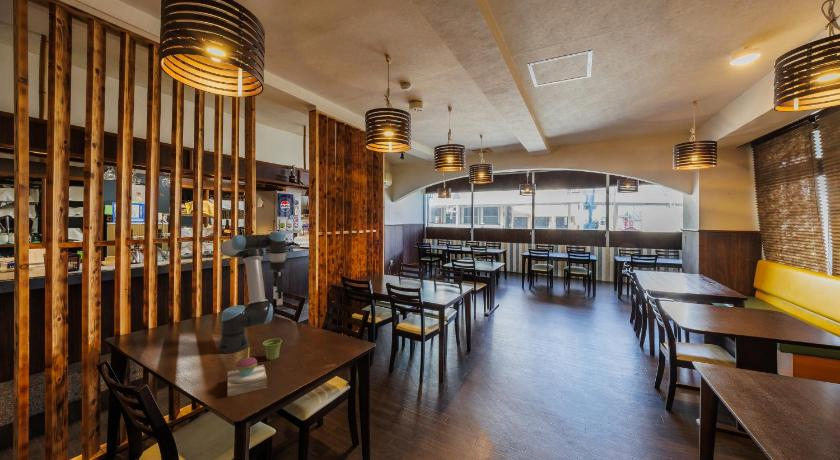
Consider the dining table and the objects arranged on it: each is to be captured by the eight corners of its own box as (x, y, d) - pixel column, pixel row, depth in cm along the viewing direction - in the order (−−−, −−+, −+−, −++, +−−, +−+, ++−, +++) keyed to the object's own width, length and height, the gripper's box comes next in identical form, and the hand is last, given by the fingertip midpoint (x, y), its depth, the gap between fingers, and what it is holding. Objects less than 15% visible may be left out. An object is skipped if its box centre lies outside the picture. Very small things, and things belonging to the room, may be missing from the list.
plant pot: (263, 362, 165) (262, 346, 164) (262, 355, 173) (262, 340, 173) (282, 359, 169) (282, 343, 169) (281, 352, 177) (281, 337, 177)
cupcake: (241, 369, 147) (241, 344, 146) (260, 369, 148) (260, 343, 147) (232, 379, 138) (232, 352, 138) (252, 378, 139) (252, 351, 139)
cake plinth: (227, 380, 146) (227, 370, 146) (263, 373, 154) (263, 363, 154) (227, 396, 134) (227, 385, 133) (266, 387, 141) (266, 376, 141)
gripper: (289, 263, 156) (289, 306, 157) (282, 257, 177) (282, 295, 178) (272, 264, 152) (272, 308, 153) (267, 258, 174) (267, 296, 175)
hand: (277, 301), depth 166 cm, fingers open, 13 cm apart
